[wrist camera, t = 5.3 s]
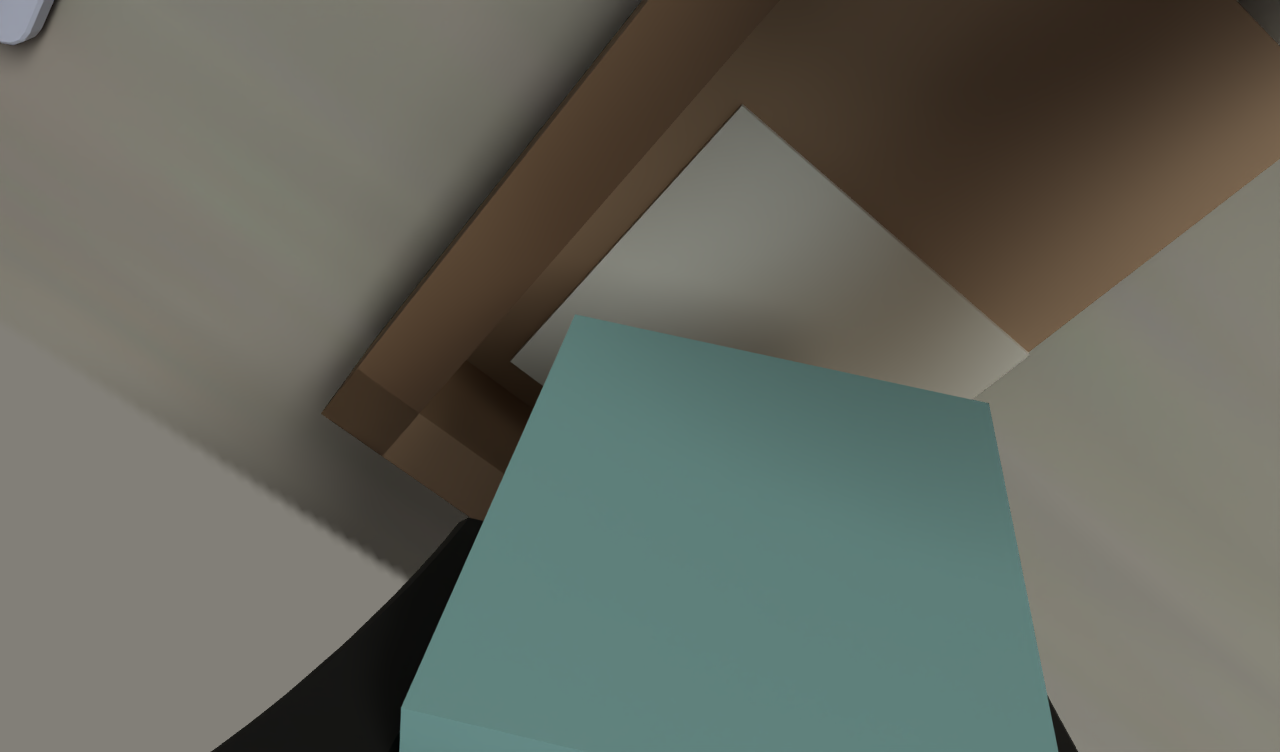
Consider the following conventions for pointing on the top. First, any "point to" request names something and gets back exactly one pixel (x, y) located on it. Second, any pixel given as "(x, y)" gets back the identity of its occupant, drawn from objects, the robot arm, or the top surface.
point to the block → (736, 568)
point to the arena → (824, 200)
